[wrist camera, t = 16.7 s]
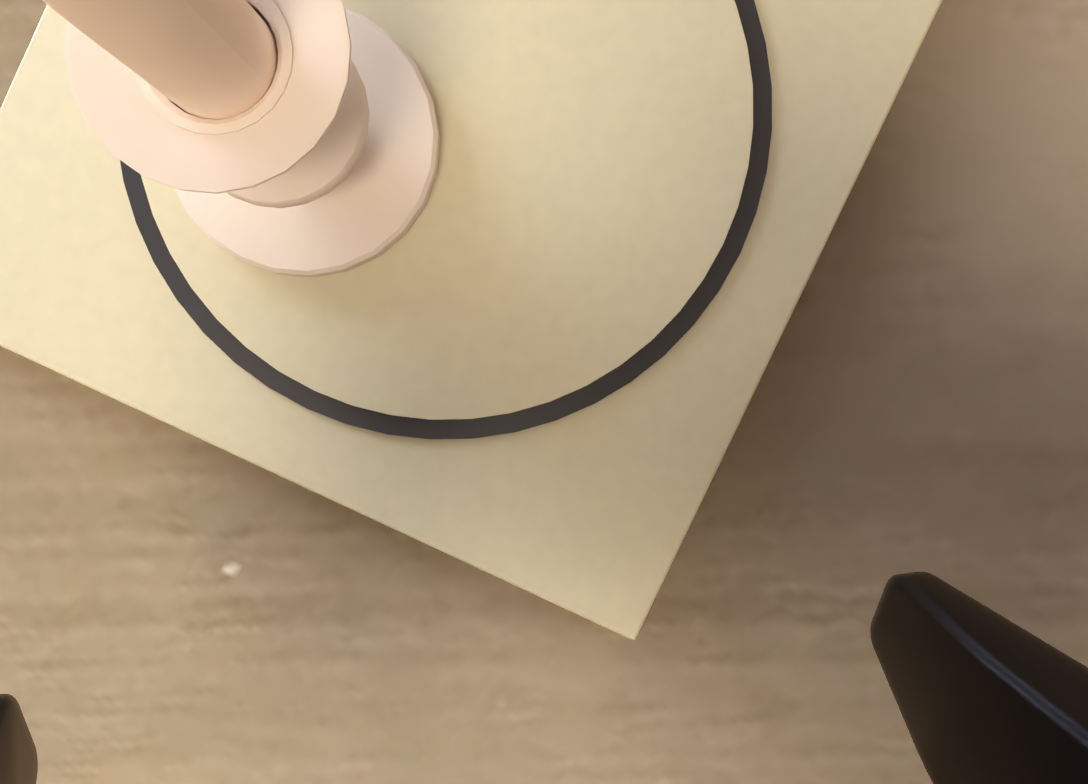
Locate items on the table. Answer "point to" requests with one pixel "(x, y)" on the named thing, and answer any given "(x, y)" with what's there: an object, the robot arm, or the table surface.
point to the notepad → (488, 275)
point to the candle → (262, 121)
